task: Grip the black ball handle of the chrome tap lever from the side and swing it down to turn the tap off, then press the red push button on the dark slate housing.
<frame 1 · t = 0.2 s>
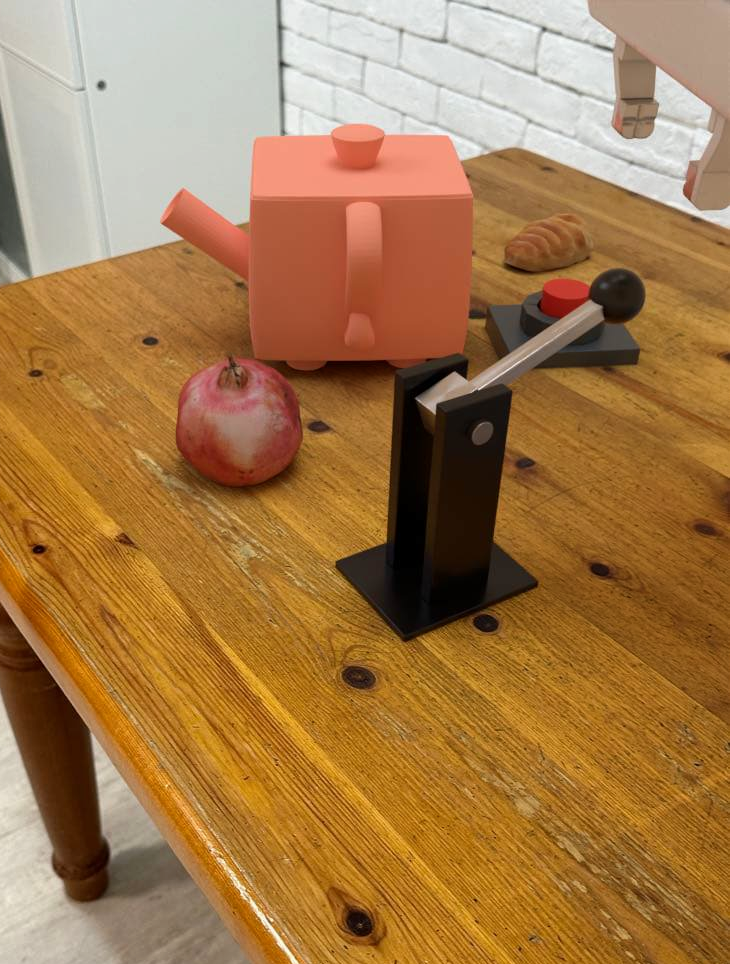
hand: (665, 167, 51), 26 cm above the table, tool pointing down, fingers open, 8 cm apart
pastry: (547, 260, 106), on the table
tap lever: (536, 350, 59), point 15 cm above the table, hinge at 20.0°
fruit: (239, 470, 77), on the table
button box: (557, 349, 91), on the table
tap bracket: (434, 585, 66), on the table
teapot: (313, 338, 93), on the table
red push button: (565, 299, 88), point 5 cm above the table, slide at 0.1 cm
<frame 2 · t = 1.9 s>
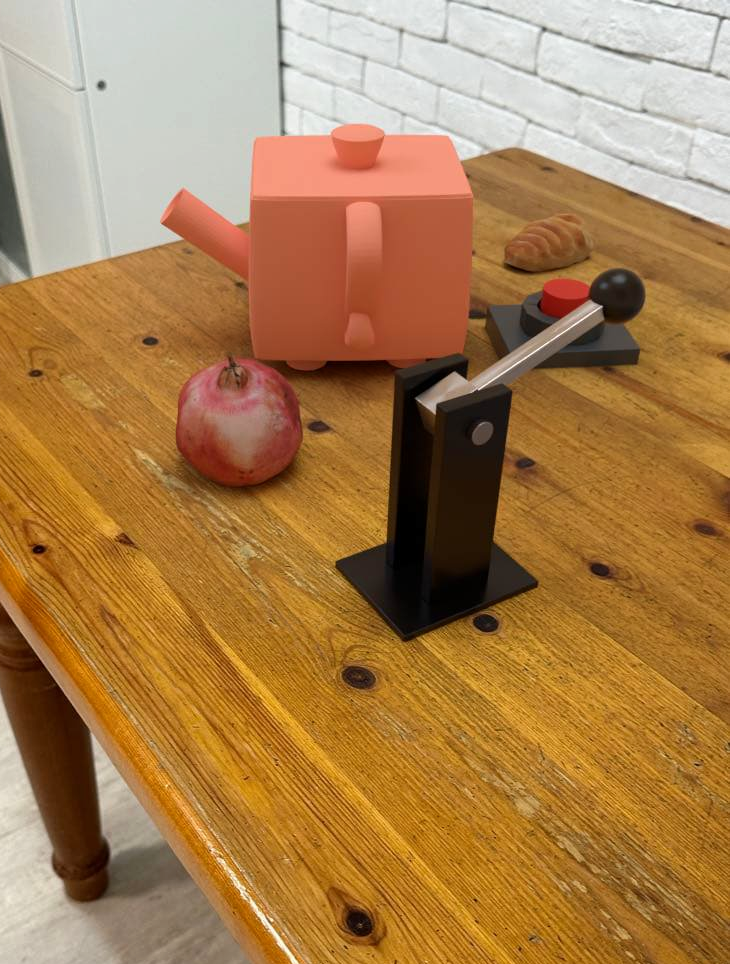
nothing on the table moved.
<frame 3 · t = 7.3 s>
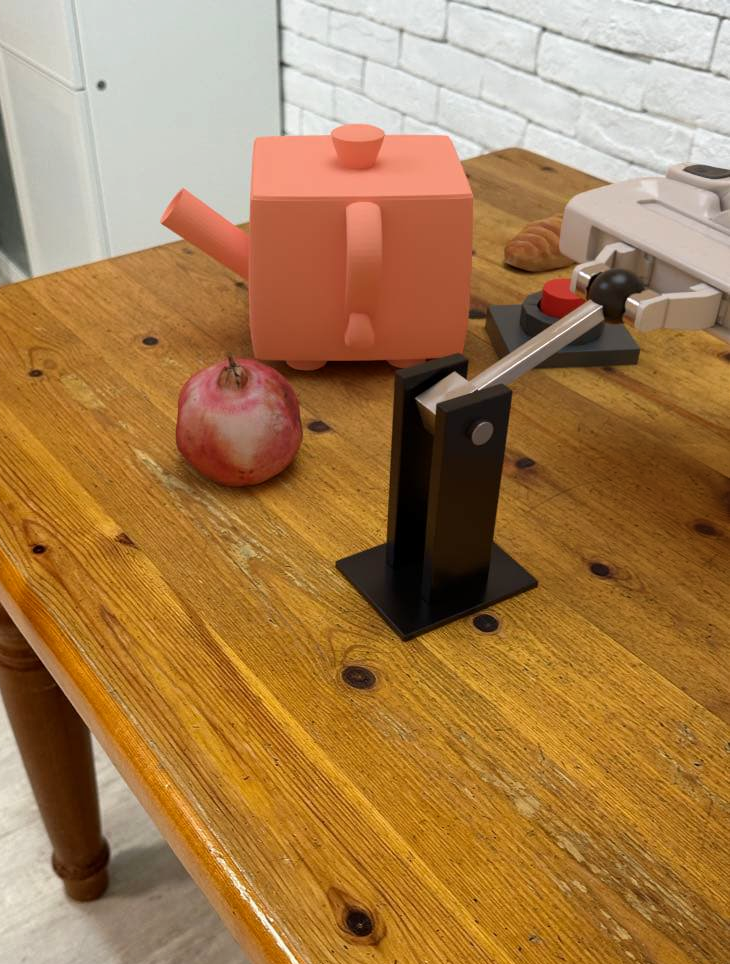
hand: (604, 299, 60), 17 cm above the table, tool horizontal, fingers closed on tap lever, 3 cm apart
tap lever: (536, 350, 59), point 15 cm above the table, hinge at 20.0°, touching gripper
everything else where it was.
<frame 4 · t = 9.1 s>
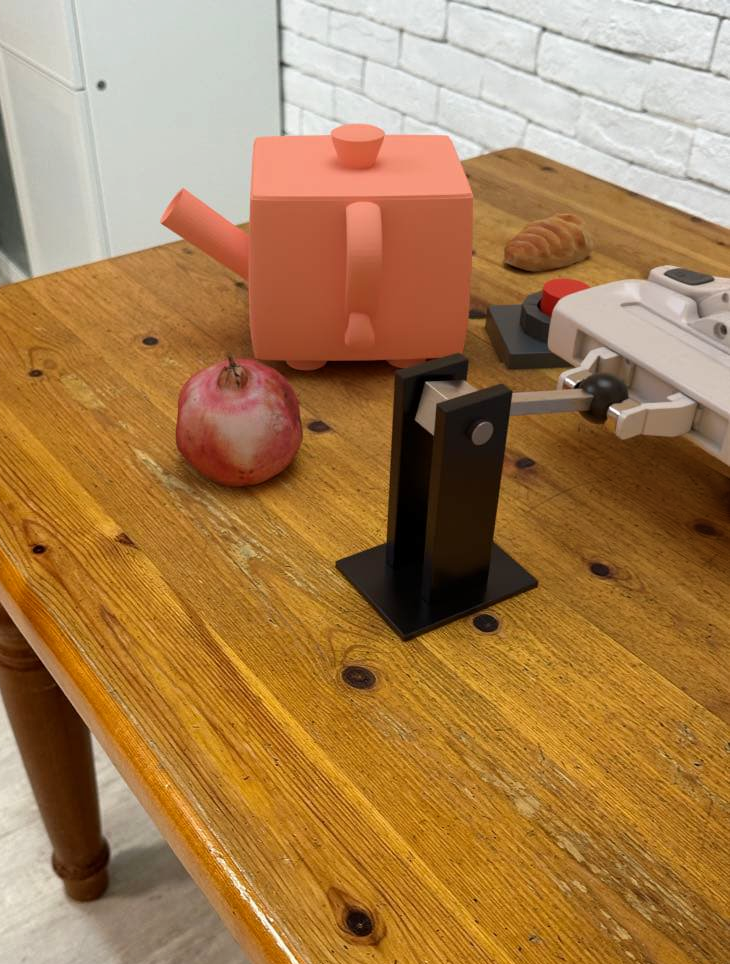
hand: (588, 406, 64), 10 cm above the table, tool horizontal, fingers closed on tap lever, 3 cm apart
tap lever: (531, 403, 61), point 12 cm above the table, hinge at -13.4°, touching gripper
everything else where it was.
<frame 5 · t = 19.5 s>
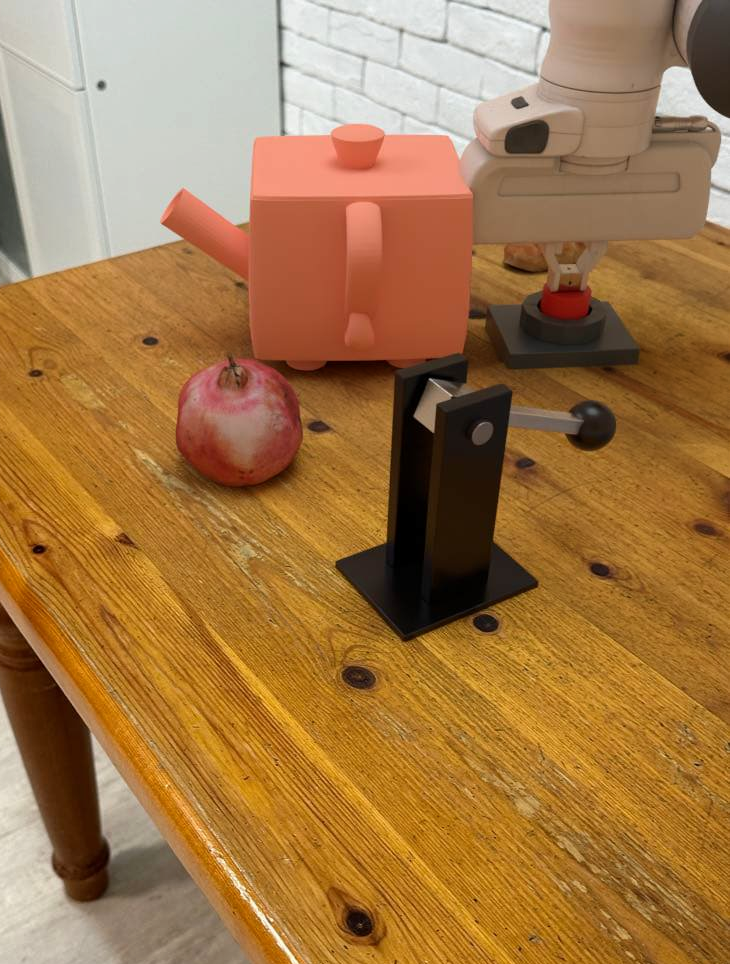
hand: (565, 288, 87), 6 cm above the table, tool pointing down, fingers closed, pressing on red push button
tap lever: (525, 417, 62), point 11 cm above the table, hinge at -22.4°
red push button: (565, 300, 88), point 5 cm above the table, slide at 0.1 cm, touching gripper
everything else where it was.
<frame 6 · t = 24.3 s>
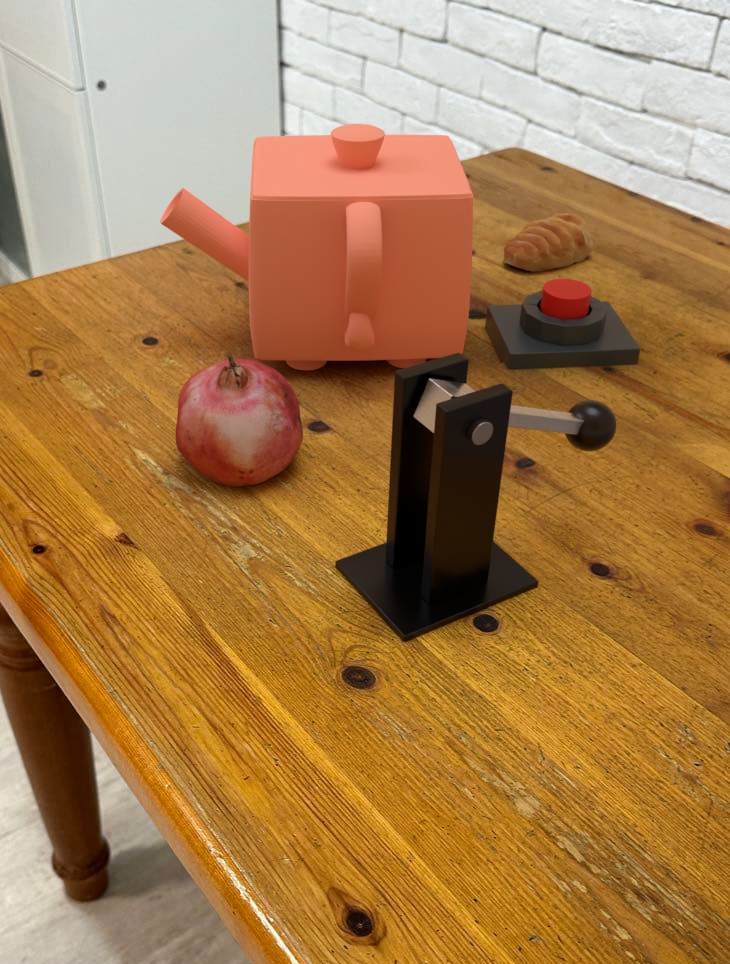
red push button: (565, 299, 88), point 5 cm above the table, slide at 0.1 cm
everything else where it was.
at the end: tap lever at -22° (first picture: +20°); red push button pushed in 1.1 cm at the most during the clip, back to where it started at the end; red push button slide at 0.1 cm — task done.
